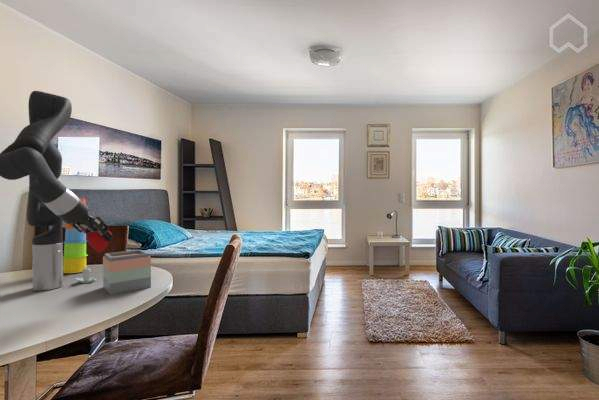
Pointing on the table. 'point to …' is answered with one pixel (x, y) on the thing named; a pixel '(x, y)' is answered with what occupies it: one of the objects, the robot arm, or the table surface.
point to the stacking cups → (74, 249)
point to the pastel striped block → (126, 271)
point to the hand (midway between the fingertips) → (104, 238)
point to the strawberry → (97, 241)
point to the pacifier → (86, 276)
